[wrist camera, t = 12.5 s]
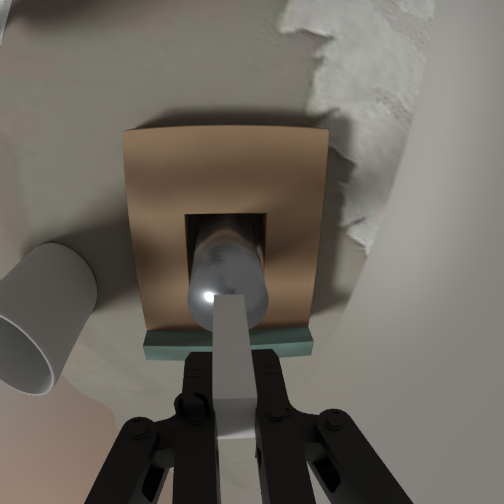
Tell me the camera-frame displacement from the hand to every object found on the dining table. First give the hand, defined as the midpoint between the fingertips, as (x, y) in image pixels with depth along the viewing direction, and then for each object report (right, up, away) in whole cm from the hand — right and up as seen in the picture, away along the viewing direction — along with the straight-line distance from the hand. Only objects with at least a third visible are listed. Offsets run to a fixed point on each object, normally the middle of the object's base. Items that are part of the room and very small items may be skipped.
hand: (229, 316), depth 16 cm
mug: (-19, +1, +10) cm, 22 cm away
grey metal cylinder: (-1, +5, +10) cm, 11 cm away
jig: (-1, +5, +10) cm, 11 cm away
